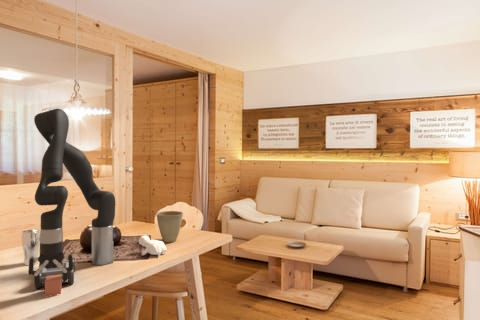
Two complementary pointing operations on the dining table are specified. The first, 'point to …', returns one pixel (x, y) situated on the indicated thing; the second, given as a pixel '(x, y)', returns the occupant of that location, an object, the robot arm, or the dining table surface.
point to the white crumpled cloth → (152, 246)
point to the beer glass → (30, 244)
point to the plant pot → (169, 224)
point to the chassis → (56, 273)
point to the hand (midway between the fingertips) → (51, 283)
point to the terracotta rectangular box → (53, 285)
